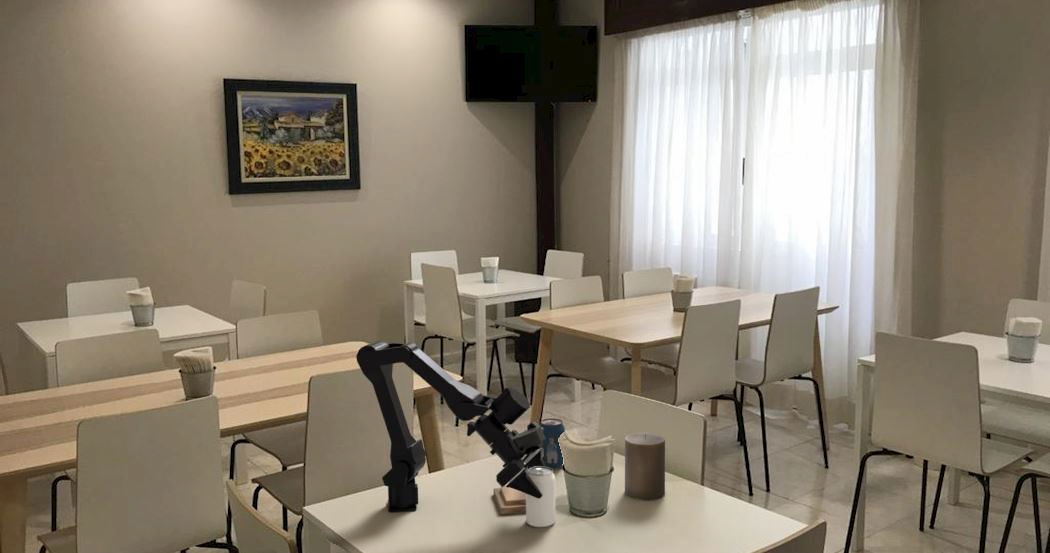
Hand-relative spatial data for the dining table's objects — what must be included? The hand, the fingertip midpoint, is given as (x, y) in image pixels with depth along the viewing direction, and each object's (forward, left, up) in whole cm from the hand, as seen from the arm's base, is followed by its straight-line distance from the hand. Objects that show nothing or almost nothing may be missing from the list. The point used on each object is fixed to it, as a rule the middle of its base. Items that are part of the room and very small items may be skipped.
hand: (546, 489), depth 190 cm
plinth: (-3, +13, -8) cm, 15 cm away
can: (-1, +1, -8) cm, 8 cm away
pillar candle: (+27, +13, -8) cm, 31 cm away
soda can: (+9, +36, -8) cm, 38 cm away
